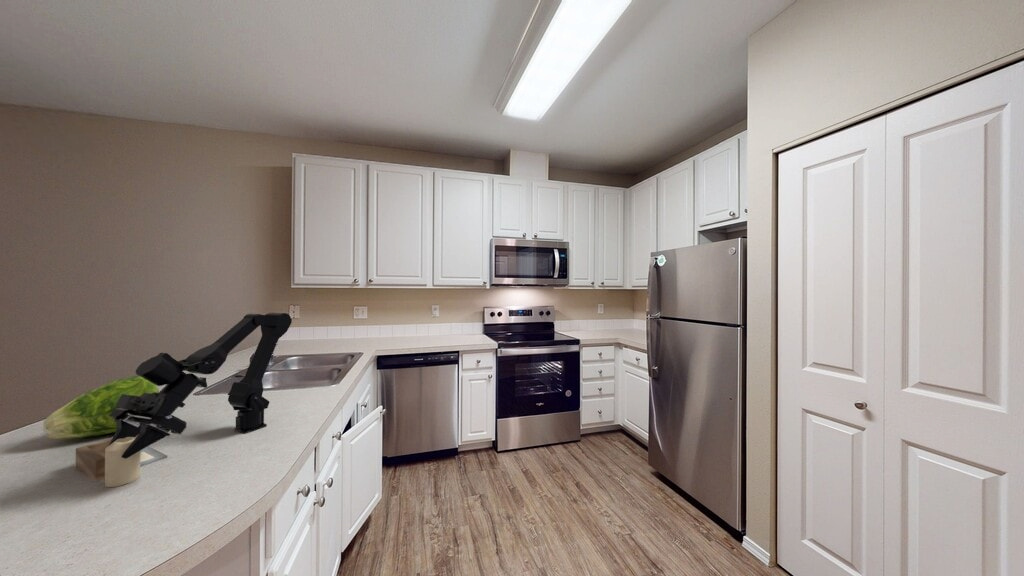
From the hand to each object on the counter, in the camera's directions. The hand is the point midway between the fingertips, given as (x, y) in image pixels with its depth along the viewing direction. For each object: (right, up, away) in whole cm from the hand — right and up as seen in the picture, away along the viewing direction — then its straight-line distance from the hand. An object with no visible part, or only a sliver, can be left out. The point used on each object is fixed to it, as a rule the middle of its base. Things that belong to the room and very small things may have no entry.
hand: (115, 456), depth 78 cm
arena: (-9, -6, +9) cm, 14 cm away
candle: (0, -7, +1) cm, 7 cm away
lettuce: (-34, -6, +26) cm, 43 cm away
